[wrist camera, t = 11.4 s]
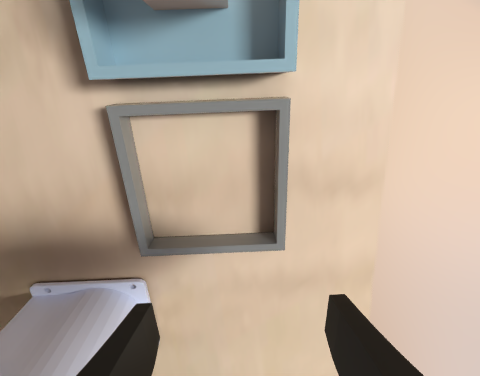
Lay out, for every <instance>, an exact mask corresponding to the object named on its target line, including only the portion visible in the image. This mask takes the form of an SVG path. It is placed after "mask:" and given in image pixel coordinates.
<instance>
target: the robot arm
mask: <svg viewBox="0 0 480 376" xmlns="http://www.w3.org/2000/svg"><path fill="white" fill-rule="evenodd" d="M132 284H133V285H132ZM134 285H135V286H134ZM30 292H31V294H32V296H33V297H32V298H31V299H30V300H29V301H28V302H27V303H26V304H25V305H24V306H23V308H22V309H21V310H20V311H19V312H18V313H17V314H16V315H15V316H14V317H13V318H12V319H11V321H10V322H9V323H8V324H7V325H6V326H5V327H4V328H3V329H2V330H1V331H0V376H151V375H152V372H153V369H154V365H155V360H156V356H157V351H158V345H159V342H160V336H159V332H158V327H157V323H156V319H155V315H154V310H153V306H152V303H151V301H150V297H149V293H148V289H147V285H146V282H145V281H144V280H143V279H123V280H100V281H78V282H55V283H36V284H33V285H32V286H31V287H30ZM325 333H326V337H327V341H328V345H329V348H330V352H331V355H332V359H333V361H334V364H335V367H336V369H337V372H338V374H339V376H423V374H421V373H420V372H419V371H418V370H417V369H416V368H415V367H414V366H413V365H412V364H411V363H410V362H409V361H408V360H407V359H406V358H405V357H404V356H403V355H401V354H400V352H399V351H398V350H396V349H395V347H393V345H392V344H391V343H390V342H389V341H387V339H386V338H385V337H384V336H383V335H382V334H381V333H380V332H379V331H378V330H377V329H376V328H375V327H374V326H373V325H372V324H371V323H370V321H369V320H368V319H367V318H366V317H365V316H364V315H363V314H362V313H361V312H360V311H359V309H358V308H357V307H356V306H355V305H354V304H353V303H352V302H351V301H350V299H349V298H348V297H347V296H346V295H345V294H338V295H329V302H328V309H327V317H326V324H325Z"/></svg>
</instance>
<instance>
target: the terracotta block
mask: <svg viewBox="0 0 480 376" xmlns="http://www.w3.org/2000/svg"><path fill="white" fill-rule="evenodd" d="M143 1H144V2H145V3H146V4H148V5H149V6H150V7H151V8H152V9H153V10H179V9H210V8H228V0H143Z"/></svg>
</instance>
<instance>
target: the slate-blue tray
mask: <svg viewBox="0 0 480 376" xmlns="http://www.w3.org/2000/svg"><path fill="white" fill-rule="evenodd" d="M69 1H70V5H71V9H72V13H73V17H74V21H75V25H76V29H77V33H78V37H79V41H80V45H81V49H82V53H83V57H84V61H85V65H86V69H87V73H88V77H89V80H113V79H137V78H161V77H186V76H210V75H234V74H259V73H283V72H293V71H296V60H297V38H298V15H299V0H228V8H210V9H179V10H153V9H152V8H151V7H150V6H149V5H148V4H146V3H145V2H144V1H143V0H69Z"/></svg>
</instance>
